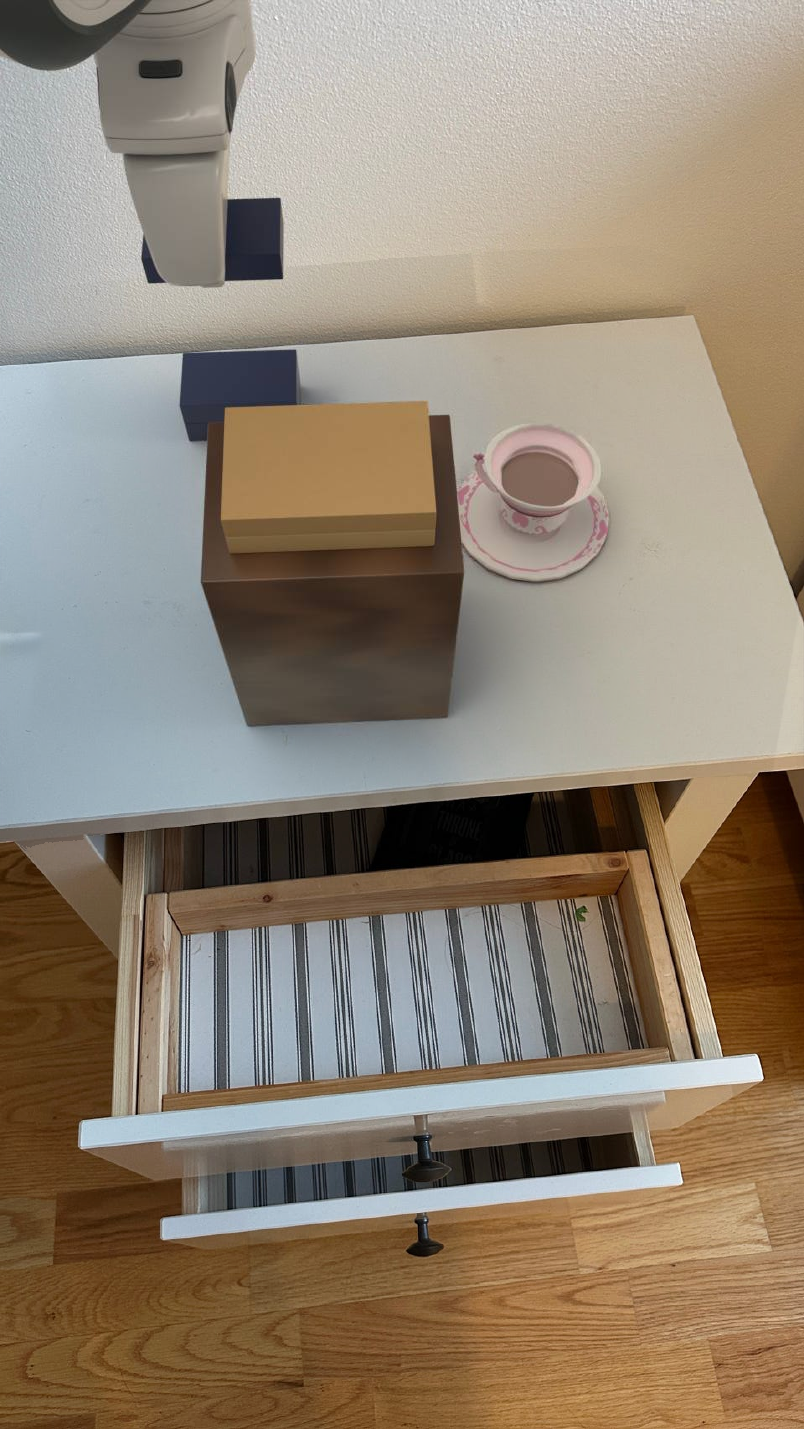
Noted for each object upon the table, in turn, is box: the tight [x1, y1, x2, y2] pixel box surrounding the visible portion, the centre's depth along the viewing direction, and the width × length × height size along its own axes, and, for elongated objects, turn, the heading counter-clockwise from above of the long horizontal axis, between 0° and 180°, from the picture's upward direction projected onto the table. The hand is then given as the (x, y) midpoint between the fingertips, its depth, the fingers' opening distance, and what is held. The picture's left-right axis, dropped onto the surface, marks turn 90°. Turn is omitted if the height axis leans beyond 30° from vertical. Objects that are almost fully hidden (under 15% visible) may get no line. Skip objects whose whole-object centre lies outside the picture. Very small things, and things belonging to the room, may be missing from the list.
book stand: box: [200, 414, 465, 727], centre depth 62 cm, size 14×11×18 cm
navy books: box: [179, 348, 302, 442], centre depth 78 cm, size 9×6×4 cm, turn 93°
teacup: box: [457, 422, 610, 583], centre depth 73 cm, size 12×12×6 cm
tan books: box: [221, 400, 436, 554], centre depth 53 cm, size 11×8×3 cm
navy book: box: [140, 197, 285, 284], centre depth 65 cm, size 9×6×2 cm, turn 93°
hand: (214, 244), depth 66 cm, fingers closed on navy book, 5 cm apart
